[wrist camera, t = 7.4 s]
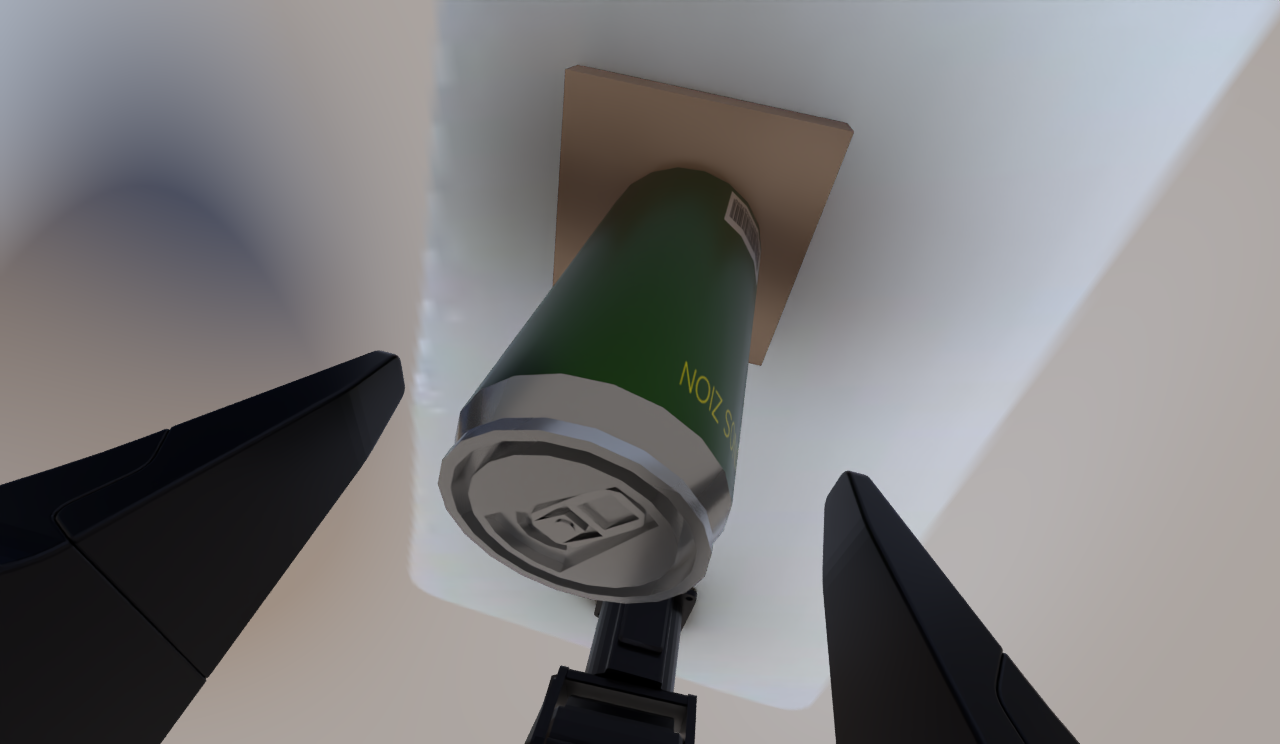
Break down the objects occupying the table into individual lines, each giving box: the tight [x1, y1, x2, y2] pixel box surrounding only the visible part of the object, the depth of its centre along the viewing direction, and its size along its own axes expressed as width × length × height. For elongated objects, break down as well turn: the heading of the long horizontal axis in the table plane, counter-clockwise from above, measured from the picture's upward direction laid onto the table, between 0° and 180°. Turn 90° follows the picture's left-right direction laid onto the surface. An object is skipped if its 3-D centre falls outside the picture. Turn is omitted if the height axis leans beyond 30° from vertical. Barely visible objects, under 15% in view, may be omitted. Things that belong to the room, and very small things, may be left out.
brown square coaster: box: [553, 65, 854, 366], centre depth 19 cm, size 9×9×2 cm
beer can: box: [438, 167, 761, 604], centre depth 13 cm, size 5×5×12 cm
